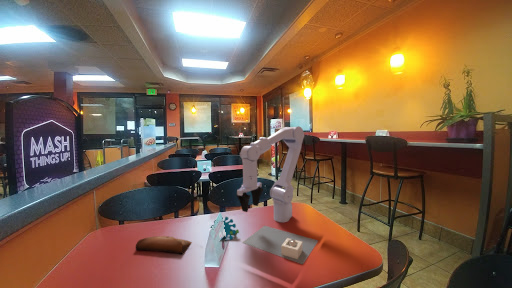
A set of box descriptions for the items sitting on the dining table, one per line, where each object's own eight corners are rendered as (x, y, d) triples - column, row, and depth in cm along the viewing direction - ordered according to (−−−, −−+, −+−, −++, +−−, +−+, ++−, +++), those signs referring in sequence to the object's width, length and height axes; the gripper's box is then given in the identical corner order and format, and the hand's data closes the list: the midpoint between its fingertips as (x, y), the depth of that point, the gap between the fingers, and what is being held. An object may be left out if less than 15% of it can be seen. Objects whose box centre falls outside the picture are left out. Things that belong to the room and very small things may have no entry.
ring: (287, 246, 71) (287, 237, 71) (302, 250, 69) (302, 241, 69) (281, 254, 67) (281, 245, 67) (297, 259, 64) (297, 249, 64)
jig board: (264, 227, 88) (264, 225, 88) (318, 243, 75) (318, 240, 75) (241, 245, 74) (241, 242, 74) (302, 267, 62) (302, 264, 62)
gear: (205, 239, 76) (215, 213, 82) (209, 244, 80) (217, 219, 87) (234, 246, 74) (241, 219, 80) (236, 250, 78) (242, 224, 85)
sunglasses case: (194, 241, 77) (189, 231, 74) (186, 260, 72) (181, 250, 68) (150, 238, 80) (144, 228, 76) (140, 256, 74) (132, 246, 71)
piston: (290, 250, 69) (290, 238, 69) (296, 252, 68) (296, 240, 68) (288, 253, 67) (288, 241, 67) (294, 255, 66) (294, 243, 66)
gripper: (252, 171, 91) (252, 201, 92) (230, 177, 79) (231, 212, 80) (265, 173, 87) (266, 204, 88) (245, 179, 75) (246, 215, 76)
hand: (250, 208), depth 84 cm, fingers open, 7 cm apart
